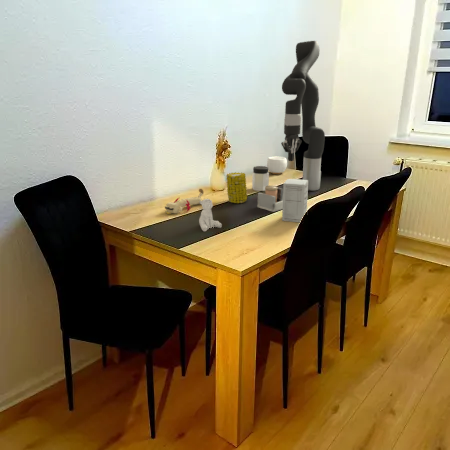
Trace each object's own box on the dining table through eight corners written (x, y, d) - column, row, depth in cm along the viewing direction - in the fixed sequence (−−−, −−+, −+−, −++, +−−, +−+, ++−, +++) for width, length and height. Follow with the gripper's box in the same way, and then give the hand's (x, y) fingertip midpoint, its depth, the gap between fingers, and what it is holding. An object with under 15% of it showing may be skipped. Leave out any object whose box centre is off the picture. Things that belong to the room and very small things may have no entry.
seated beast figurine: (203, 232, 182) (203, 203, 178) (192, 226, 189) (191, 198, 185) (222, 227, 188) (222, 199, 184) (210, 222, 194) (210, 195, 190)
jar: (260, 192, 241) (261, 169, 237) (249, 189, 247) (249, 167, 243) (271, 189, 247) (272, 167, 243) (260, 186, 253) (260, 165, 249)
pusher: (271, 202, 219) (272, 186, 216) (282, 205, 214) (283, 188, 212) (269, 202, 218) (270, 186, 215) (280, 205, 213) (281, 189, 211)
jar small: (269, 203, 218) (270, 184, 215) (279, 205, 214) (280, 186, 211) (262, 205, 214) (262, 187, 211) (272, 208, 210) (272, 189, 207)
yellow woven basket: (239, 208, 219) (224, 205, 226) (254, 198, 226) (239, 195, 233) (233, 179, 212) (218, 176, 219) (249, 169, 219) (234, 167, 226)
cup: (266, 175, 280) (266, 159, 277) (267, 170, 291) (268, 155, 288) (286, 175, 278) (286, 160, 275) (286, 171, 290) (287, 156, 286)
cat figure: (195, 204, 225) (158, 211, 206) (195, 186, 223) (158, 193, 204) (210, 207, 219) (174, 216, 200) (211, 190, 217) (174, 196, 198)
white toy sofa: (280, 200, 226) (281, 186, 224) (296, 204, 219) (297, 190, 217) (257, 207, 215) (257, 192, 213) (273, 211, 208) (273, 197, 206)
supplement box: (307, 216, 201) (309, 179, 196) (303, 223, 193) (305, 184, 187) (285, 214, 204) (287, 178, 199) (281, 220, 196) (283, 182, 190)
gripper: (294, 121, 217) (293, 157, 223) (277, 124, 208) (275, 161, 214) (307, 123, 212) (305, 159, 218) (289, 125, 203) (288, 163, 209)
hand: (290, 160), depth 216 cm, fingers closed
